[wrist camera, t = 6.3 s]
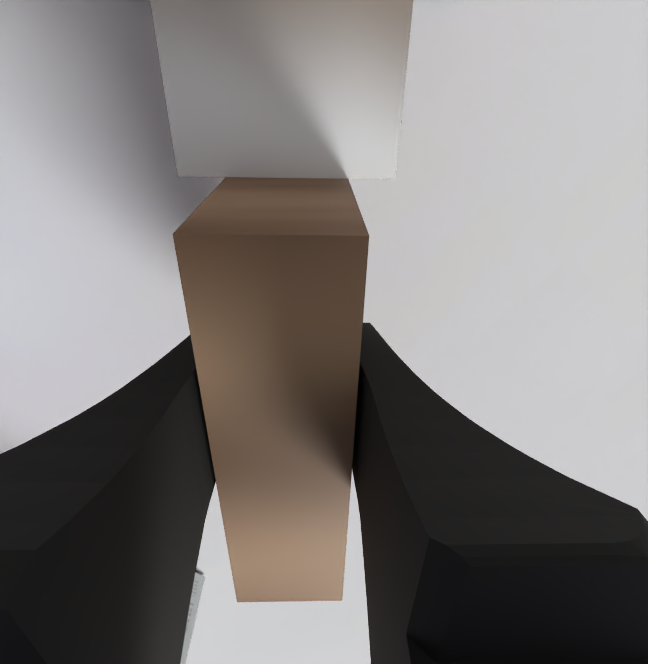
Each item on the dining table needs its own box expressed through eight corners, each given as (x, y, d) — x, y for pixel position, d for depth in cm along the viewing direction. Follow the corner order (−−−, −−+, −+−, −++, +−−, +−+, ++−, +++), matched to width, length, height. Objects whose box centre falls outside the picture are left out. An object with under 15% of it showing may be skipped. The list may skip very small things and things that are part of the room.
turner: (363, 456, 15) (383, 599, 11) (228, 457, 15) (195, 603, 11) (432, -283, 7) (644, -943, 2) (118, -298, 7) (-247, -1020, 2)
